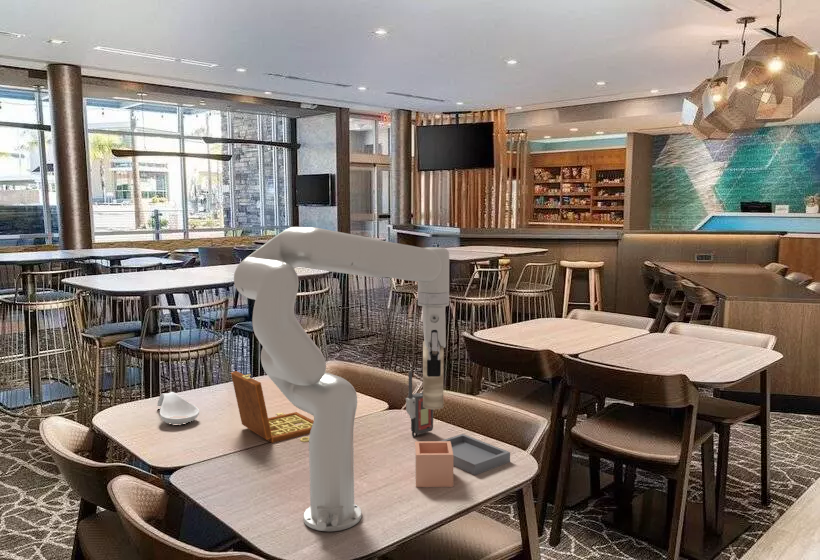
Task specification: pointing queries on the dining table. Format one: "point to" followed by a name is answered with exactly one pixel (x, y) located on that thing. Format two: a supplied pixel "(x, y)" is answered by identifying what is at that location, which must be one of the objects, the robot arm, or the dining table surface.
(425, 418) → the walkie-talkie
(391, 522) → the dining table surface
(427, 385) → the birch dowel
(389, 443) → the dining table surface
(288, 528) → the dining table surface
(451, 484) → the terracotta box
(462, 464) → the charcoal tray
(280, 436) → the game set
